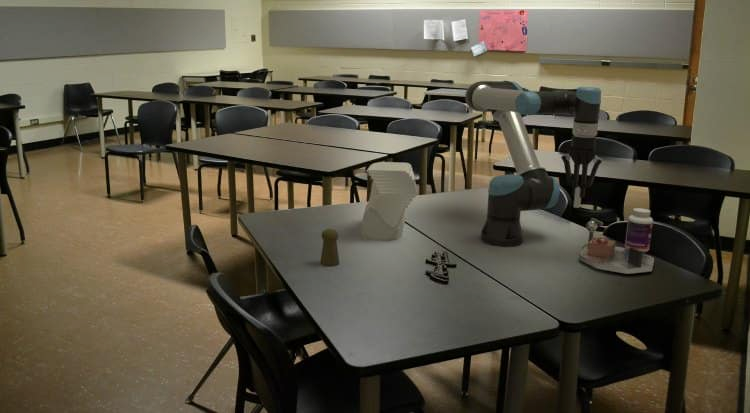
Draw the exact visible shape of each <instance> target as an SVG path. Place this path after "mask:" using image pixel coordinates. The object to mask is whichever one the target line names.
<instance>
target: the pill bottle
mask: <svg viewBox="0 0 750 413" xmlns="http://www.w3.org/2000/svg"><path fill="white" fill-rule="evenodd" d="M653 225H654V219H653V217H651V210H650V209H647V208H642V207H640V208H639V207H635V208H633V209H632V214H631V215H629V216H628V218H627V226H626V235H625V240H624V241H625V242H624V248H629V249H630V247H634V248H636V249H638V250H640V251H643V253H646V252H647V253H648V251H649V250H650V247H651V242H652V241H651V239H652V232H653Z"/></svg>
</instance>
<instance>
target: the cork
mask: <svg viewBox="0 0 750 413" xmlns="http://www.w3.org/2000/svg"><path fill="white" fill-rule="evenodd" d="M321 238H322V240H323V242H322V248H321V255H320V261H319V262H320V263H319V264H320V265H321V266H322V267H331V268H332V267H337V266H339V265H340V259H339V251H338V243H337V242H338V239H339V232H338V231H337V230H336V229H332V228H327V229H324V230H322V232H321Z"/></svg>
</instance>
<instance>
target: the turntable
mask: <svg viewBox="0 0 750 413" xmlns="http://www.w3.org/2000/svg"><path fill="white" fill-rule="evenodd" d="M582 248H583V247H582ZM578 258H579V259H578V260H580V261H582V262H583V263H585V264H587V265H590V266H591V267H593V268H595V269H598V270H603V271H608V272H609V271H610V272H615V273H621V274H626V275H627V274H629V275H630V274H638V273H640V274H641V273H648V272H652V271H653V267H654V263H655V262H654V261H655V257H653V256H651V255H648V254H647V253H645V252H643V251H640V250H638V249H636V248H634V247H630V249H629V248H626V247H621V246H616V245H615V251H614V254H613V255H612V256H611V257H610V258H605V257H600V256H595V255H589V254H588V247H584V248H583V249H581V251H580V253H579V257H578Z"/></svg>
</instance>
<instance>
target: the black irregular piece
mask: <svg viewBox="0 0 750 413" xmlns="http://www.w3.org/2000/svg"><path fill="white" fill-rule="evenodd" d="M424 263H425V264H427V265H430V266H434V270H429V269H426V270H425V275H426V276H428V277H429V279H430V280H431V281H433V282H435V283H438V284H440V285H449V282H450V276H449V271H448V268H449V269H457V265H458V264H457V263H451V262H450V259H449V255H448V252H447V251H446V250H445V251H444V250H443V251H442V254H441V253H440V252H438V251H434V253H432V254H431V258H430V259H428V258H426V259H425V262H424Z"/></svg>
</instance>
